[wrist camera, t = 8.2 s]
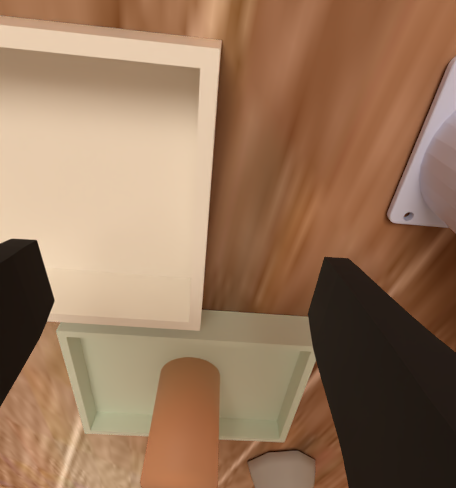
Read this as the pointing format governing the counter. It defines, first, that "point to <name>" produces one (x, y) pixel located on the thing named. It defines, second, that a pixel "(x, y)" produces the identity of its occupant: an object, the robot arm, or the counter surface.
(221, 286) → the counter surface
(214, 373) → the peg
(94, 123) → the box
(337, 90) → the counter surface
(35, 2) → the counter surface
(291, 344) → the tray
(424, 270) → the counter surface
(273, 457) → the flask
